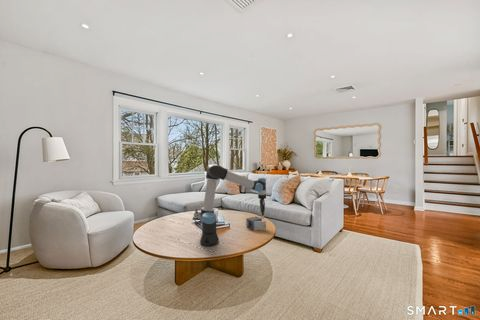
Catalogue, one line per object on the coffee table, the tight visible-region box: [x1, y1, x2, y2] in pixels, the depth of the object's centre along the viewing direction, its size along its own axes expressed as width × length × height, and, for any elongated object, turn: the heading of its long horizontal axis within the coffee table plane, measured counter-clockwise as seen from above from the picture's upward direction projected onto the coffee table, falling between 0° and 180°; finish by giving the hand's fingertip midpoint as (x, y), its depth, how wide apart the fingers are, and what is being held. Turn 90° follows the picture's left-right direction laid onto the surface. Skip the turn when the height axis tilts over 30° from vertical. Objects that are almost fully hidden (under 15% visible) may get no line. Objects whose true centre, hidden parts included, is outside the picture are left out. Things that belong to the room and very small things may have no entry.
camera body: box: [245, 215, 263, 231], centre depth 205 cm, size 14×9×10 cm, turn 127°
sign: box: [192, 204, 204, 221], centre depth 224 cm, size 22×3×20 cm, turn 94°
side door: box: [252, 220, 267, 232], centre depth 198 cm, size 12×2×8 cm, turn 92°
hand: (262, 218), depth 201 cm, fingers closed
